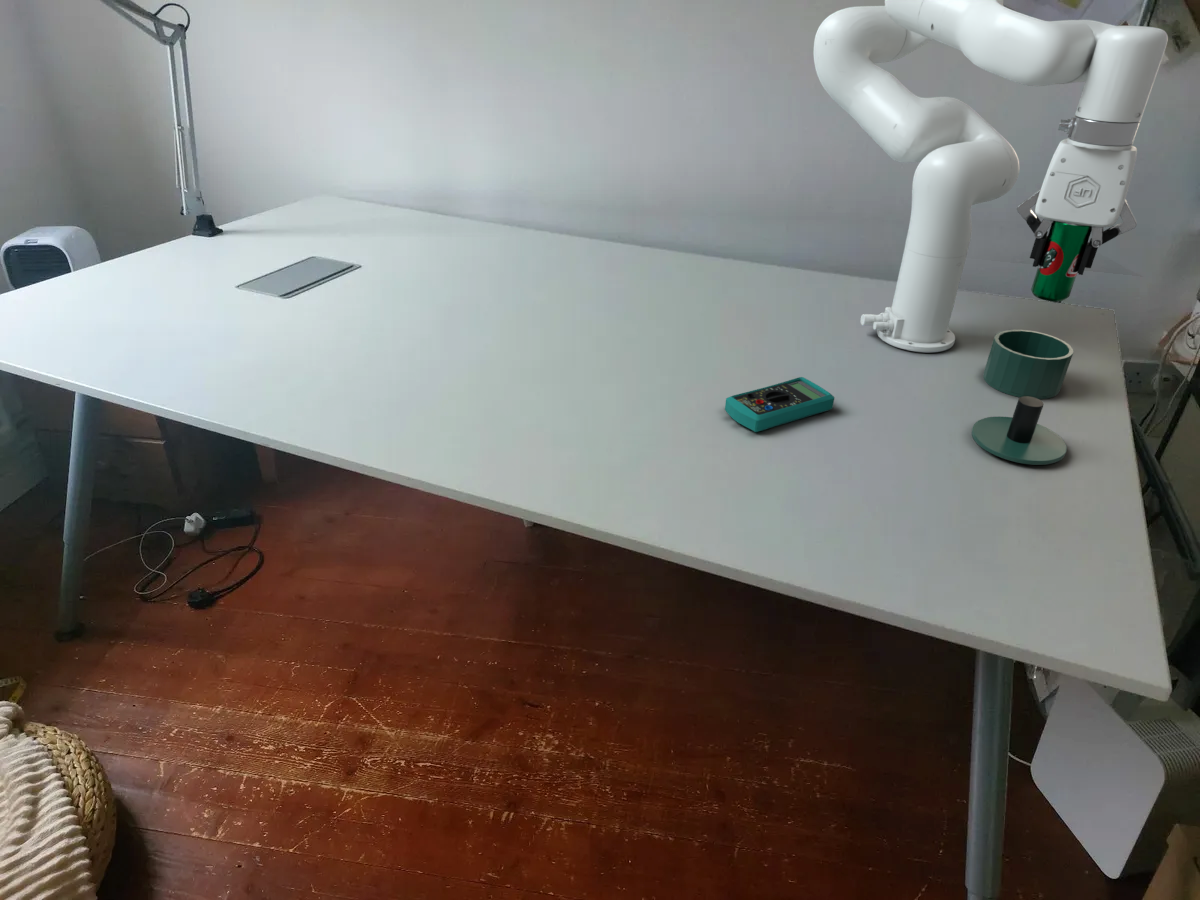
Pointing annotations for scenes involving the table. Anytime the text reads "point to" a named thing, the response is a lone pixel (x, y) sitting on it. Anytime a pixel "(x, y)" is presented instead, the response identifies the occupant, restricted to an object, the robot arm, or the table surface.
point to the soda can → (1060, 261)
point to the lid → (1020, 435)
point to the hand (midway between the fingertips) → (1058, 266)
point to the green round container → (1027, 363)
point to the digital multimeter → (778, 404)
